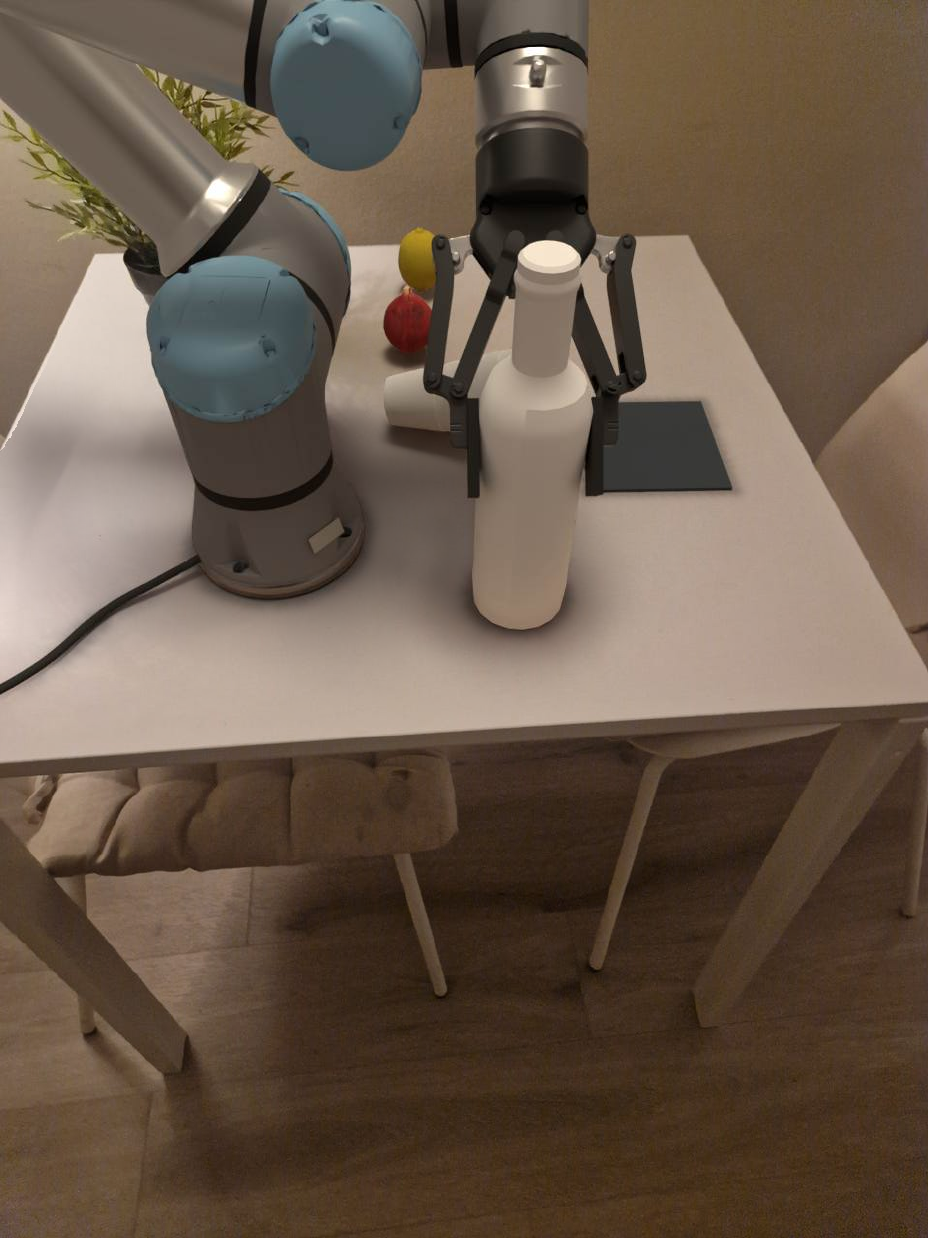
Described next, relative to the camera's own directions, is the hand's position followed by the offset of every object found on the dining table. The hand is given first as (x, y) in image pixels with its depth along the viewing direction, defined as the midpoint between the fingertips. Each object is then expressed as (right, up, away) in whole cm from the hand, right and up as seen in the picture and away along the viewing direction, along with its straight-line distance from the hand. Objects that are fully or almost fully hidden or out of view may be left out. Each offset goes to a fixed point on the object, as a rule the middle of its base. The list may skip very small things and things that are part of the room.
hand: (533, 496), depth 55 cm
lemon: (-10, +33, +46) cm, 57 cm away
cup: (-12, +14, +26) cm, 32 cm away
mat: (+14, +9, +27) cm, 32 cm away
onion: (-11, +22, +37) cm, 44 cm away
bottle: (0, -7, +14) cm, 15 cm away
